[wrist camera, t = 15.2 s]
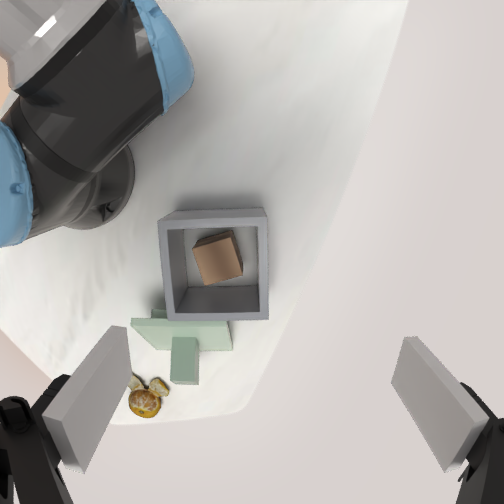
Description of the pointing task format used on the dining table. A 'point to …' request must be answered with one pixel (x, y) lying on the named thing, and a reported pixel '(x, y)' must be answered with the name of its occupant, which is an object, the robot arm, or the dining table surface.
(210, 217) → the storage box
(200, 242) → the block
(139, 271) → the dining table surface
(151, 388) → the fruit
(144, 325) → the lid
